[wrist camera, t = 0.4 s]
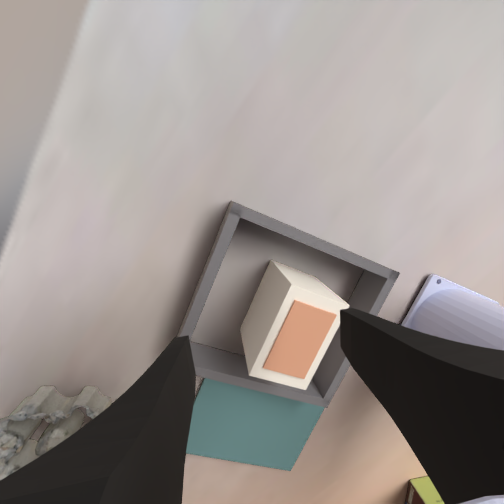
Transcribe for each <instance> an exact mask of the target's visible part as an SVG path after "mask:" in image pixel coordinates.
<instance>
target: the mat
mask: <svg viewBox="0 0 504 504" xmlns="http://www.w3.org/2000/svg"><path fill="white" fill-rule="evenodd" d="M324 408H325V407H321V406H317V405H313V404H309V403H305V402H301V401H297V400H293V399H289V398H285V397H281V396H276V395H272V394H268V393H264V392H260V391H256V390H252V389H248V388H244V387H240V386H236V385H232V384H228V383H223V382H219V381H215V380H211V379H207V378H204V380H203V382H202V385H201V387H200V389H199V392H198V394H197V396H196V399H195V401H194V405H193V412H192V418H191V424H190V430H189V437H188V443H187V449H186V453H187V454H193V455H199V456H205V457H211V458H217V459H223V460H228V461H234V462H240V463H246V464H252V465H258V466H264V467H270V468H276V469H282V470H288V471H291V469H292V467H293V466H294V464H295V462H296V460H297V458H298V456H299V454H300V453H301V451H302V449H303V447H304V445H305V443H306V441H307V440H308V438H309V436H310V434H311V432H312V430H313V428H314V427H315V425H316V423H317V421H318V419H319V417H320V415H321V414H322V412H323V410H324Z"/></svg>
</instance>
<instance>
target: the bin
mask: <svg viewBox="0 0 504 504" xmlns="http://www.w3.org/2000/svg"><path fill="white" fill-rule="evenodd" d="M240 218H243V219H245V220H248V221H250V222H252V223H255V224H257V225H260V226H262V227H265V228H267V229H269V230H272V231H274V232H277V233H279V234H281V235H284V236H286V237H289V238H291V239H293V240H296V241H298V242H301V243H303V244H305V245H308V246H310V247H313V248H315V249H318V250H320V251H322V252H325V253H327V254H330V255H332V256H334V257H337V258H339V259H342V260H344V261H346V262H349V263H351V264H354V265H356V266H359V267H361V268H363V269H365V270H364V272H363V274H362V276H361V278H360V280H359V281H358V283H357V285H356V287H355V289H354V291H353V293H352V295H351V297H350V299H349V301H348V303H347V304H349V305H350V306H349V308H354V309H358V310H361V311H364V312H366V313H369V314H372V315H374V316H377V315H378V313H379V311H380V309H381V307H382V305H383V303H384V302H385V300H386V298H387V296H388V294H389V292H390V291H391V289H392V287H393V285H394V283H395V281H396V279H397V278H398V276H399V274H400V273H399V272H396V271H394V270H392V269H389V268H387V267H385V266H382V265H380V264H378V263H375V262H373V261H371V260H368V259H366V258H364V257H361V256H359V255H357V254H354V253H352V252H350V251H347V250H345V249H343V248H340V247H338V246H336V245H333V244H331V243H329V242H326V241H324V240H322V239H319V238H317V237H315V236H312V235H310V234H308V233H305V232H303V231H301V230H298V229H296V228H294V227H291V226H289V225H287V224H284V223H282V222H280V221H277V220H275V219H273V218H270V217H268V216H266V215H263V214H261V213H259V212H256V211H254V210H252V209H249V208H247V207H245V206H242V205H240V204H238V203H235V202H233V201H231V202H230V204H229V207H228V209H227V212H226V214H225V217H224V219H223V222H222V224H221V227H220V229H219V232H218V234H217V237H216V239H215V242H214V244H213V247H212V249H211V252H210V254H209V257H208V260H207V262H206V265H205V267H204V270H203V272H202V275H201V277H200V280H199V282H198V285H197V287H196V290H195V292H194V295H193V297H192V300H191V302H190V305H189V307H188V310H187V312H186V315H185V317H184V320H183V322H182V325H181V327H180V330H179V332H178V335H177V337H181V336H187V335H189V340H190V339H191V336H192V334H193V332H194V329H195V327H196V324H197V322H198V319H199V317H200V314H201V312H202V310H203V307H204V305H205V302H206V300H207V297H208V295H209V293H210V290H211V288H212V285H213V283H214V280H215V278H216V275H217V273H218V271H219V268H220V266H221V263H222V261H223V258H224V256H225V253H226V251H227V249H228V246H229V244H230V241H231V239H232V236H233V234H234V232H235V229H236V227H237V224H238V222H239V219H240ZM190 346H191V351H192V356H193V362H194V367H195V373H196V376H199V377H203V378H207V379H211V380H215V381H219V382H223V383H228V384H232V385H236V386H240V387H244V388H248V389H252V390H256V391H260V392H264V393H268V394H272V395H276V396H281V397H285V398H289V399H293V400H297V401H301V402H305V403H309V404H313V405H317V406H321V407H325V408H327V407H328V405H329V403H330V401H331V400H332V398H333V396H334V394H335V392H336V390H337V388H338V387H339V385H340V383H341V381H342V379H343V377H344V376H345V374H346V372H347V370H348V368H349V366H350V362H349V361H348V359H347V358H346V356H345V354H344V352H343V351H342V349H341V347H340V325H339V327H338V329H337V331H336V333H335V335H334V337H333V339H332V341H331V343H330V345H329V346H328V348H327V350H326V352H325V354H324V356H323V358H322V360H321V362H320V364H319V366H318V368H317V370H316V372H315V374H314V375H313V377H312V379H311V381H310V383H309V385H308V387H307V389H306V390H303V389H299V388H295V387H292V386H288V385H284V384H280V383H276V382H272V381H268V380H264V379H261V378H257V377H253V376H249V373H248V368H247V363H246V358H245V356H241V355H238V354H234V353H230V352H227V351H223V350H219V349H216V348H212V347H209V346H205V345H201V344H198V343H194V342H191V341H190Z"/></svg>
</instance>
